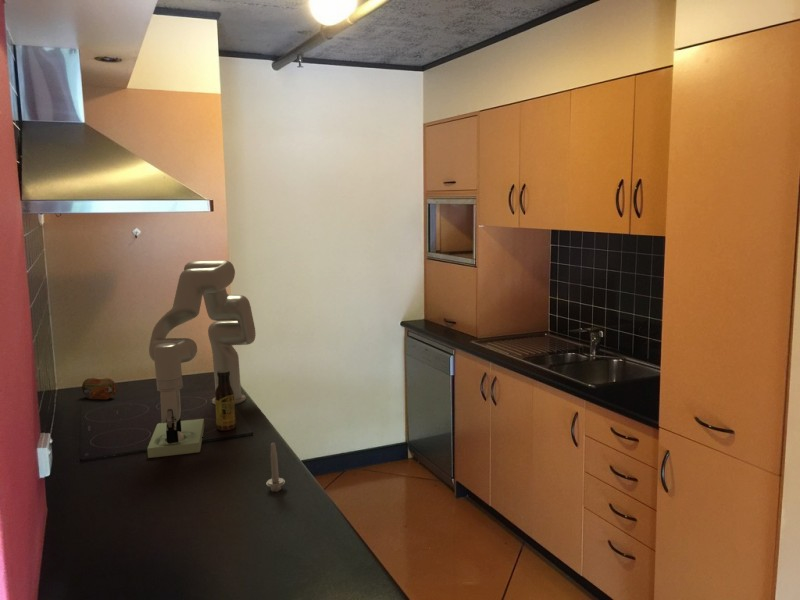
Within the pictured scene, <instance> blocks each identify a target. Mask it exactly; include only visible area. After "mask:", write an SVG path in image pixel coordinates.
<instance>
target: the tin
mask: <svg viewBox="0 0 800 600" xmlns="http://www.w3.org/2000/svg"><path fill="white" fill-rule="evenodd" d="M81 390H82V393H83V395H84V396H85V397H86V398H88V399H90V400H109V399H112V398H113V397H114V396H115V395H116V393H117V385H116V383H115V381H114V380H113V379H112V378H106V377H105V378H103V377H90V378H86V379H85V380H84V381H83V382H82V385H81Z"/></svg>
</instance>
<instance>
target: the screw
mask: <svg viewBox="0 0 800 600" xmlns="http://www.w3.org/2000/svg"><path fill="white" fill-rule="evenodd" d="M269 453H270V457H269V458H270V470H271V478H270V479H268V480H267V481H266V483H265V484H266V486H267V487H269V488H270V490H271V492H276V493H277V492H279V491H281V490H282V486H283V485H285V484H286V480H285V479H284V478H282V477H280V476H279V475H280V474H279V463H278V452H277V448H276V443H275V442H271V443H270V452H269Z"/></svg>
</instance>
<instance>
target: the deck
mask: <svg viewBox="0 0 800 600" xmlns="http://www.w3.org/2000/svg"><path fill="white" fill-rule="evenodd" d="M205 426H206V425H205V419H204V418H197V419H188V420H187V419H186V420H181V433H182V434H183V436H184V440H181V441H178V442H177V443H167V435H166V422H165V423H162V422H159V423H157V424H156V426H155V429H154V430H153V434H152V436H151V437H150V441H149V444H148V446H147V447H146V448H147V449H146V450H147V458H148V459H150V458H160V457H168V456H177V455H185V454H194V453H200V452H201V448H202V443H203V438H204V431H205ZM202 437H203V438H202Z"/></svg>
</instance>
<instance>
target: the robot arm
mask: <svg viewBox="0 0 800 600" xmlns="http://www.w3.org/2000/svg"><path fill="white" fill-rule="evenodd" d="M235 275H236V270H235V267H234V265H233V263H232V262H231V261H229V260H194V261H189V262H187V263H186V264H185V265H184V268H183V271H181V272H180V274H179V278H178V282H177V286H176V291H175V295H174V298H173V299H174V300H173V304H172V307H171V309H169V310H168V311H167V312H166V313H164V315H163V316H162V317H160V319H159V320H158V321H157V322H156V324H155V325H154V327H153V329H152V332H151V336H150V342H149V345H148V353H149V354H148V355H149V357H150V359H151V360H152V361H154V370H155V371H154V372H155V381H156V390H157V391H158V392H160V399H159V400H160V414H161V416H160V417H161V419H160V420H161V423H166V435H167V443H177V442H178V431H179V432H181V421H182V420H181V414H182V413H181V412H182V411H181V410H182V409H181V407H182V405H181V392H180V390H181V389H183V388H184V383H183V372H182V364H183V363H188V362H190V361H192V360H193V359H195V357H197V352H198V346H197V343H196V341H194V339H191V338H187V337H182V338H181V337H174V338H173V337H167V336H168V334H169V333H170V332H171V331H172V330H173V329H175V328H177V327H178V326H180V325H182V324H184V323H187V322H189V321H192V320H193V319H195V318H196V317H198V315H199V314H200V310H201V305H202V300H204V306H205V309H206V314H207V315H208V317H209V319H210V320H211V321H213V322H212V323H210V324H209V326H208V328H207V334H208V339H209V342H210V343H209V344H210V346H211V351H212V352H211V353H212V363H213V378H214V387H215V388H214V389H215V391H216V388H217V387H218V376H217V372H218V371H221V370H229V371H230V375H229V380H230V385H231V388H232V390H233V393H234V404H235V405H238V404H240V403H243V402H244V401H245V400H246V398H247V397H246V395H245V394H243V393H242V389H241V388H242V385H241V375H240V374H241V373H240V372H241V371H240V360H239V354H238V352H237V350H236V348H234V346H246V345H251V344H253V343H254V341H255V339H256V334H257V333H256V326H255V322H254V321H255V320H254V317H253V316H254V315H253V311H252V306H251V303H250V300H249V299H248V298H247V297H246V296H244V295H240V294H231V295H230V294H228V292H227V287H229V286H230V285H231V284H232V283H233V281H234V279H235ZM166 337H167V338H166ZM211 403H212V404H213V405H215V397H213V398H212V400H211Z"/></svg>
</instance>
